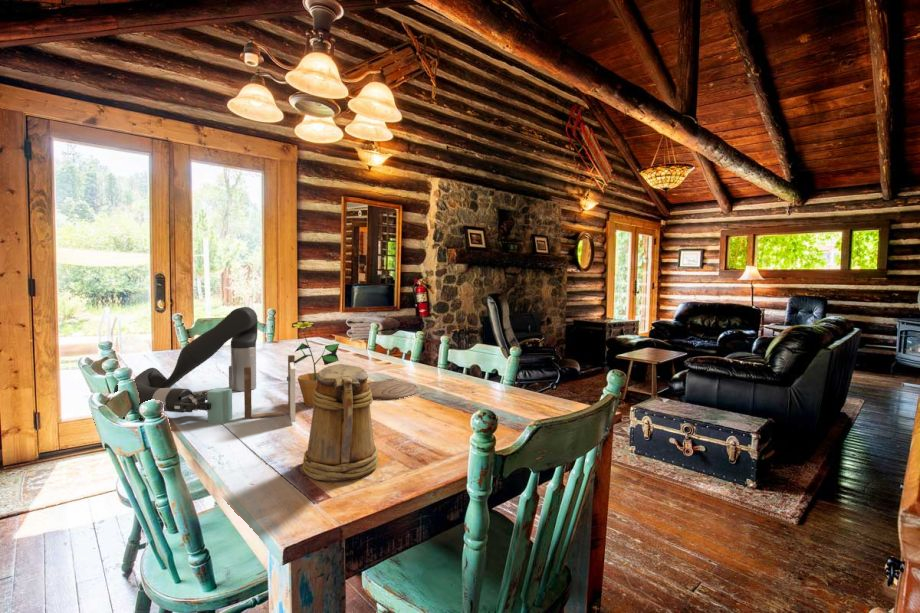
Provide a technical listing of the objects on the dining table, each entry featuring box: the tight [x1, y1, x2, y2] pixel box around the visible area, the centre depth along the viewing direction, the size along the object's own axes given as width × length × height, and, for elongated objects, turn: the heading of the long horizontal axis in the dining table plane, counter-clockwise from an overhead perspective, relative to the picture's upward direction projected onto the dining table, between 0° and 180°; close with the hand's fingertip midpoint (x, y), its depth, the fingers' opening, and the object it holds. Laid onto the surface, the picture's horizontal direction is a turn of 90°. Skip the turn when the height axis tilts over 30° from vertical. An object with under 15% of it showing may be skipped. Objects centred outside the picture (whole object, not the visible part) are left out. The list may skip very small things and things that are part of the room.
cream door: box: [286, 362, 296, 423], centre depth 147 cm, size 10×2×17 cm, turn 23°
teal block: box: [206, 387, 233, 425], centre depth 145 cm, size 5×5×10 cm
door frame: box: [243, 354, 296, 420], centre depth 151 cm, size 15×3×20 cm, turn 113°
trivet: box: [367, 380, 419, 401], centre depth 186 cm, size 25×25×2 cm
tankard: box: [302, 363, 380, 483], centre depth 111 cm, size 18×24×25 cm
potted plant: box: [291, 320, 340, 407], centre depth 166 cm, size 18×19×30 cm
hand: (219, 402), depth 145 cm, fingers open, 8 cm apart
